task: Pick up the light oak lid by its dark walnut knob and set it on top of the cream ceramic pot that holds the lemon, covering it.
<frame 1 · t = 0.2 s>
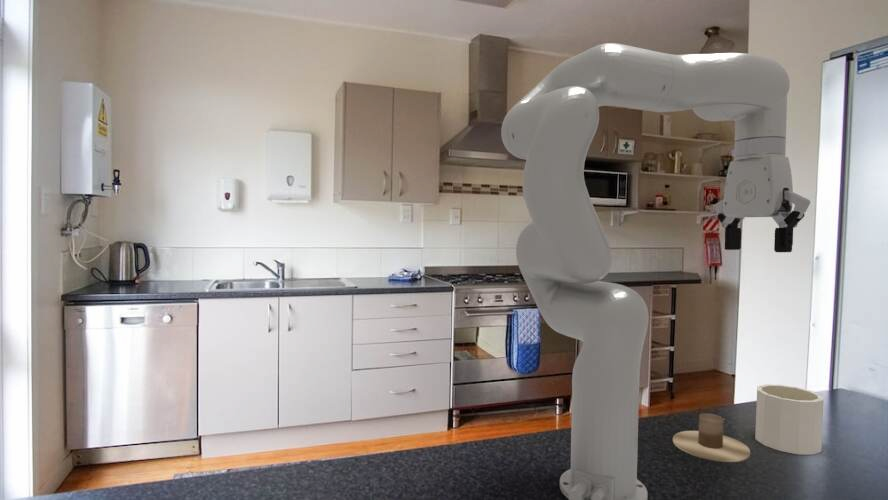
hand: (756, 250, 89), 36 cm above the countertop, tool pointing down, fingers open, 9 cm apart
lid: (710, 448, 94), on the countertop
lemon: (787, 443, 96), resting in pot
pot: (787, 442, 96), on the countertop
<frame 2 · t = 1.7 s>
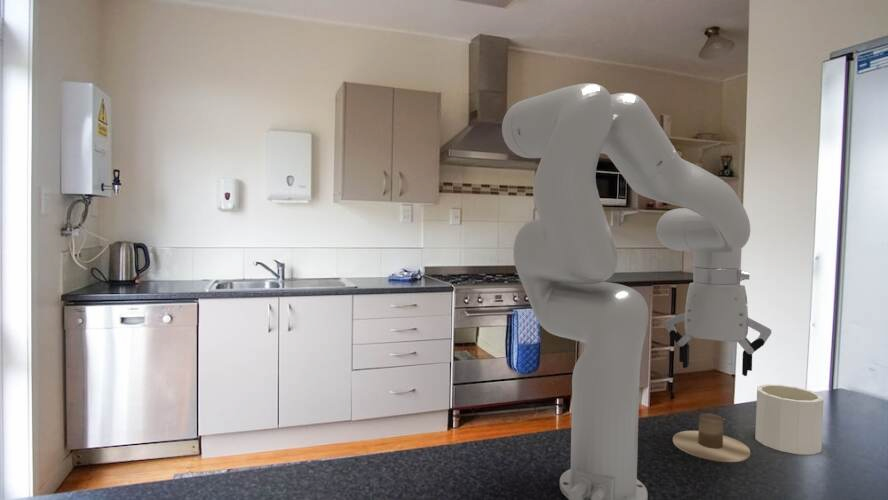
hand: (714, 370, 94), 14 cm above the countertop, tool pointing down, fingers open, 9 cm apart
nothing on the countertop moved.
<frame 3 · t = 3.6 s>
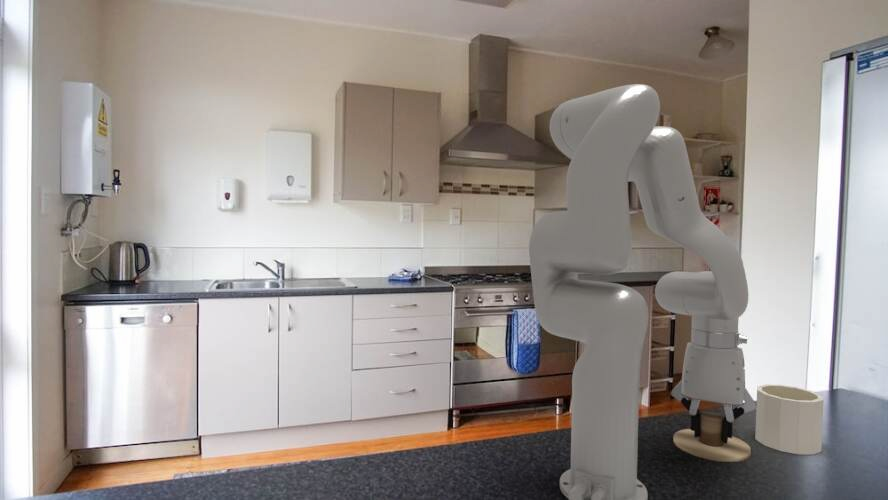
hand: (711, 436, 94), 2 cm above the countertop, tool pointing down, fingers closed on lid, 4 cm apart
lid: (710, 446, 95), on the countertop, touching gripper
everything else where it was.
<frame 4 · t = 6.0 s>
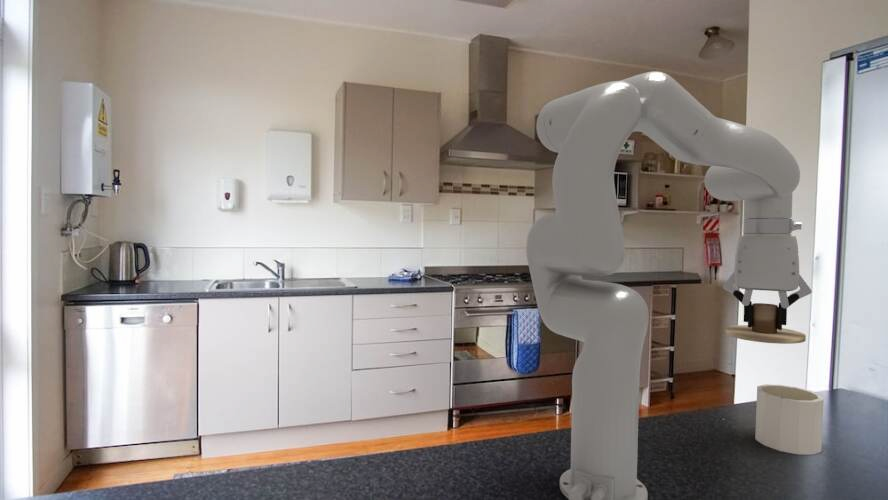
hand: (764, 326, 95), 22 cm above the countertop, tool pointing down, fingers closed on lid, 4 cm apart
lid: (764, 335, 95), point 20 cm above the countertop, touching gripper
everything else where it was.
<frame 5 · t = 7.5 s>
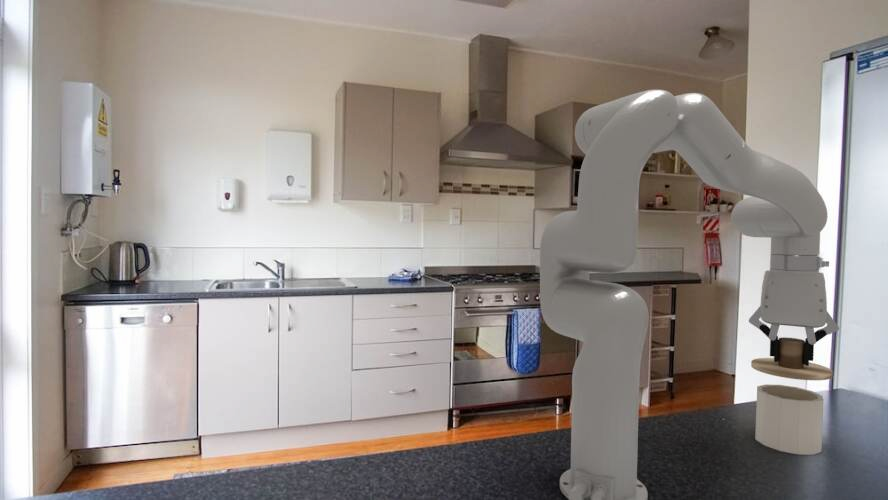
hand: (790, 361, 96), 15 cm above the countertop, tool pointing down, fingers closed on lid, 4 cm apart
lid: (790, 370, 96), point 14 cm above the countertop, touching gripper
everything else where it was.
when the fingers open (12 cm above the countertop, at t = 8.7 s): lid drops 1 cm, resting on pot.
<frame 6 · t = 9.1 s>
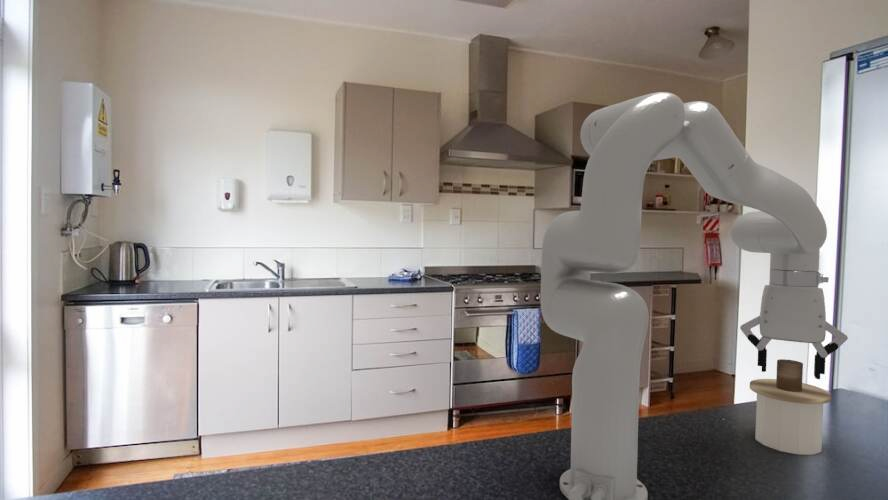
hand: (789, 373, 96), 13 cm above the countertop, tool pointing down, fingers open, 7 cm apart
lid: (788, 392, 96), point 9 cm above the countertop, touching pot
everything else where it was.
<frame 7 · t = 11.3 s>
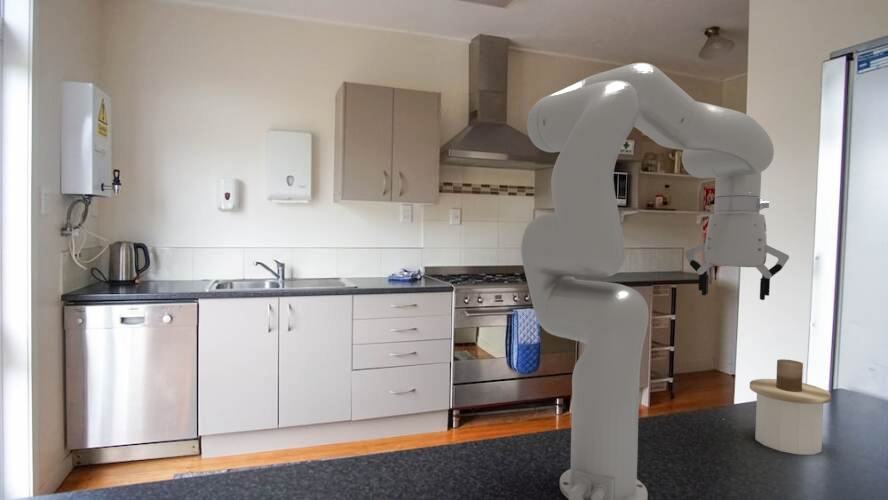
hand: (732, 297, 98), 27 cm above the countertop, tool pointing down, fingers open, 9 cm apart
nothing on the countertop moved.
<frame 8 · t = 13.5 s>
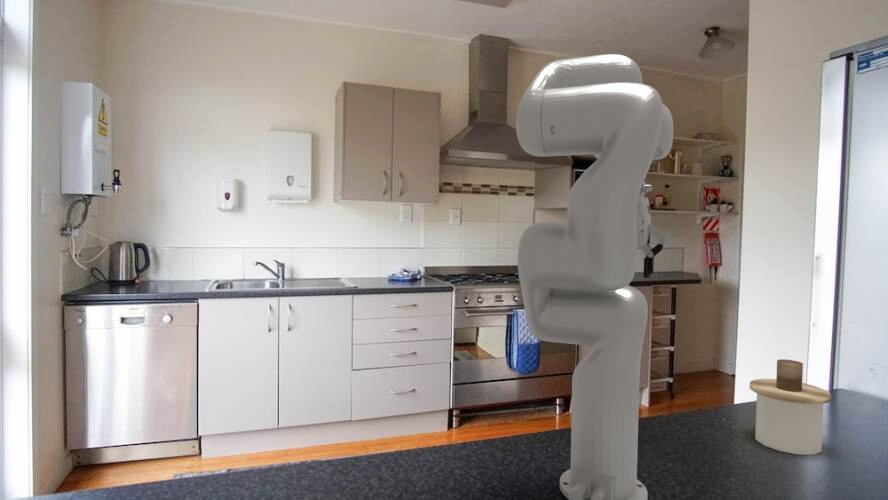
hand: (621, 276, 104), 30 cm above the countertop, tool pointing down, fingers open, 9 cm apart
nothing on the countertop moved.
at the end: lid 0.1 cm off-centre on the pot, point 9.5 cm above the pot's base; lid tilted 0°; the gripper is holding nothing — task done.
